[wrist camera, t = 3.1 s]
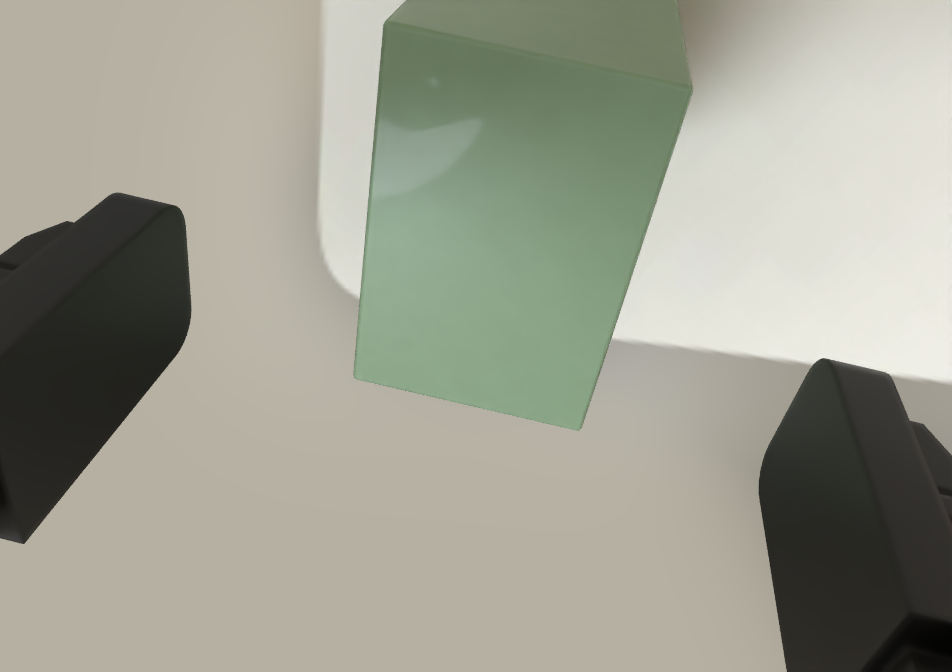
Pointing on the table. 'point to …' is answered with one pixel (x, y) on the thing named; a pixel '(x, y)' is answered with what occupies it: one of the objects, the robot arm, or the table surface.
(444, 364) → the green block
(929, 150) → the table surface
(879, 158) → the table surface
